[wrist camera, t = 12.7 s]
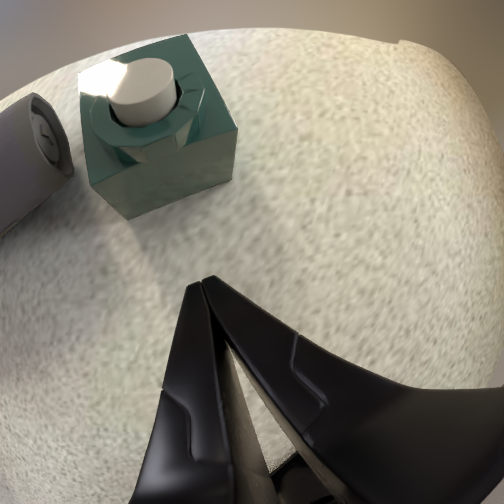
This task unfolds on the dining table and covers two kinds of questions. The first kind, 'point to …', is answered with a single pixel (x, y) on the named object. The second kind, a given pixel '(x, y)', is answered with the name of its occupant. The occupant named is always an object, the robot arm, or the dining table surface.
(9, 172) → the bluetooth speaker
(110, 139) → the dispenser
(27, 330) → the dining table surface
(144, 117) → the white push button
